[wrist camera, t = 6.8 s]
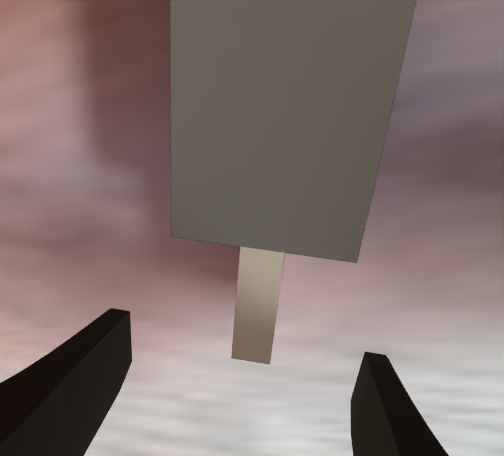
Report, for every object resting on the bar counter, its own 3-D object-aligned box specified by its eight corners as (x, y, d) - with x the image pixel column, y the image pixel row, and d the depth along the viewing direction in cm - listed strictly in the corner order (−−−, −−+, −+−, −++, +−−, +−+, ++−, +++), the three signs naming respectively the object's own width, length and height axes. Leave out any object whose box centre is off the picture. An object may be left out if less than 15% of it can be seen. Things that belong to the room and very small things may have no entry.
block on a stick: (328, 296, 17) (331, 374, 13) (201, 278, 17) (172, 348, 14) (404, -80, 11) (443, -120, 8) (214, -94, 12) (169, -139, 8)
